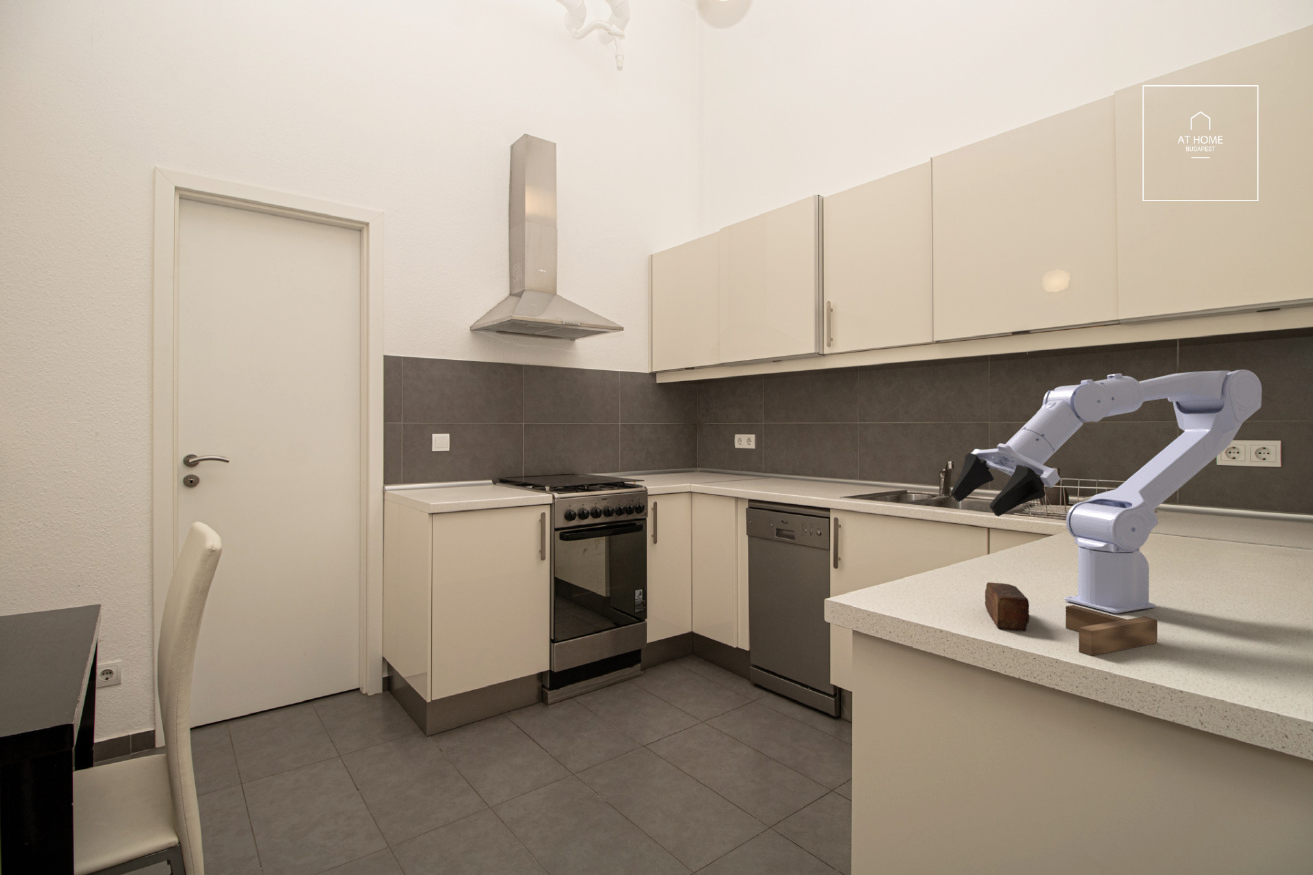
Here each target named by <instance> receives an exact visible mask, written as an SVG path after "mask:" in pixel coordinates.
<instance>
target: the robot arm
mask: <svg viewBox="0 0 1313 875" xmlns="http://www.w3.org/2000/svg"><path fill="white" fill-rule="evenodd" d="M1106 377H1107V378H1106V379H1100V380H1096V381H1095V380H1093V379H1084V380H1081V381H1080V384H1075V385H1074V384H1073V385H1061V386H1058V387H1056V388H1054V389H1053V390H1051V389H1050V390H1047V392H1046V393H1045V394H1044V397H1043V400H1042V405H1041V407H1040V409H1039V410H1038V411H1036V414H1035V413H1034V415H1033V416H1032V417H1031V419H1029V420H1028V421H1027V422H1026V423H1025V424H1024V425H1023V426H1022V427H1021V428H1020V429H1019V430H1018V431H1017V432H1016V433H1015V434H1014V435H1012V437H1011V438H1010V439H1009V440H1008V441H1007V442H1006V443H999V444H997V446H996V448H989V449H979V448H974V450H972V452H968V453H967V454H965V456H964V462H963V466H962V470H961V472H960V474H959V476H958V479H957V480H956V482H955V484H954V486H953V488H952V489H951V491H950V493H951V495H952V497H953V498H954V500H955V501H956V502H959V503H960V502H962V501H964V500H965V499H967V497H969V496H970V495H971V494H972V493H973V492H974V491H975V490H977V489H978V488H980V487H981V486H983V485H985V484H987V483H990V482H992V481H994V480H995V478H994V476H993V475H992V473H991V472H990V469H994V470H997V471H1000V472H1003V473H1004V474H1006V475H1008V476H1010V479H1009V480H1008V481H1007V483H1006V485H1005V486H1004V487H1003V489H1002V490H1001V491H1000V492H999V493H997V495H996V496H995V498H993V500H991V503H990V504H989V508H990V510H992V513H993V514H994V515H995V516H997V517H1001V516H1002V515H1004V514H1006V513H1007V512H1009V511H1011V510H1013V509H1015V508H1016V507H1018V506H1021V505H1024V504H1025V503H1029V502H1032V501H1035V500H1039V499H1043V498H1045V496H1046V494H1047V493H1046V492H1045V491H1046V490H1045V489H1044V488H1045V487H1046V488H1047V487H1048V488H1051V489H1053V487H1054V486H1055V485H1056V484H1057V483H1058V482H1059V481H1060V480H1061V477H1060V476H1059V474H1058V472H1057V470H1056V468H1052V467H1048V466H1046V465H1044V464H1045V463H1046V462H1048V460H1049V459H1050V458H1051V457H1052V456H1053V455H1054V454H1055V453H1056V452H1057V451H1058V450H1059V449H1060V448H1061V447H1062V446H1063V444H1065V443H1066V442H1067V441H1068V440H1069V439H1070V438H1071V437H1072V436H1073V435H1074V434H1075V433H1076V432H1077V431H1079V429H1080V428H1082V426H1083V425H1084V423H1089V422H1094V423H1097V422H1099V421H1101V420H1103V418H1107V417H1113V416H1118V415H1122V414H1123V415H1124V414H1128V413H1133V412H1135V411H1137V410H1139V409H1140V407H1142V405H1143V403H1144V402H1147V401H1149V402H1150V401H1155V400H1160V399H1161V400H1162V399H1167V401H1168V402H1169V403H1170V402H1171V403H1173V409H1174V413H1175V416H1176V422H1177V426H1178V428H1179V429H1180V430H1182V431H1183V433H1181V435H1179V436H1178V437H1177V438H1175V439H1173V441H1172V442H1170V443H1169V445H1167V446H1166V447H1165V448H1164V449H1162V450H1161V451H1159V453H1158V454H1156V455H1155V456H1154V457H1153V458H1151V459H1150V460H1149V461H1148V462H1146V464H1145V465H1143V466H1142V467H1141V468H1140V469H1139V470H1138V471H1136V472H1135V473H1134V474H1132V475H1131V476H1130V477H1129V478H1128V479H1126V481H1124V482H1123V483H1122V484H1120V485H1119V486H1118V487H1117V488H1116V489H1111V490H1109V491H1104V492H1101V493H1098V494H1095V495H1093V496H1092V497H1091V498H1089V499H1087V500H1085V501H1080V502H1079V501H1078V502H1076V503H1075V504H1073V505H1072V506H1071V507H1070V508H1069V510H1068V512H1067V514H1066V516H1065V517H1066V518H1065V525H1066V529H1067V531H1068V533H1069V534H1070V536H1072V537H1073V538H1074V544H1075V545H1078V546H1077V595H1071V596H1065V597H1064V600H1065V601H1067V602H1070V603H1074V604H1078V605H1082V606H1086V607H1089V608H1093V609H1098V610H1101V611H1105V612H1109V613H1112V614H1121V613H1127V612H1132V611H1139V610H1144V609H1150V608H1156V603H1153V602H1150V565H1149V562H1148V559H1147V557H1146V556H1145V554H1143V553H1142V551H1141V550H1140V548H1141V547H1142V546H1144V545H1145V543H1146V542H1147V540H1148V538H1149V536H1150V534H1151V532H1152V531H1153V529H1154V528H1155V527H1157V526H1158V525H1159V520H1158V516H1157V513H1156V511H1155V509H1156V508H1157V507H1159V506H1160V505H1161V504H1163V503H1164V502H1165V501H1166V500H1167V499H1168V498H1169V497H1171V496H1173V494H1175V492H1176V491H1179V489H1180V488H1182V487H1183V486H1184V485H1185V484H1186V483H1187V482H1189V481H1190V480H1191V479H1192V478H1193V477H1195V475H1196V474H1198V473H1199V472H1200V471H1201V470H1202V469H1204V468H1205V467H1206V466H1207V465H1208V464H1209V463H1211V462H1212V461H1213V460H1214V459H1216V458H1217V457H1218V456H1219V455H1220V454H1221V453H1223V451H1225V450H1226V449H1227V448H1228V447H1229V446H1230V445H1231V444H1232V442H1233V440H1234V438H1235V437H1236V435H1237V433H1238V432H1239V430H1240V429H1241V426H1242V424H1243V423H1244V422H1246V420H1248V419H1249V418H1250V417H1251V416H1253V414H1254V413H1256V412H1257V411H1258V410H1260V409H1261V407H1262V397H1263V396H1262V395H1263V394H1262V393H1263V390H1262V388H1263V387H1262V383H1261V380H1260V378H1259V377H1258V376H1257V375H1256V374H1255V373H1254V372H1253V371H1251V370H1249V369H1237V370H1234V371H1231V370H1211V371H1208V370H1207V371H1206V370H1205V371H1191V372H1180V373H1172V374H1167V375H1163V376H1159V377H1155V378H1149V379H1145V380H1140V381H1138V380H1137V379H1136V378H1134V377H1132V376H1129V375H1123V374H1122V373H1120V372H1119V373H1113V374H1111V373H1110V374H1108V375H1107V376H1106Z"/></svg>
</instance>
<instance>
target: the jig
mask: <svg viewBox="0 0 1313 875" xmlns="http://www.w3.org/2000/svg"><path fill="white" fill-rule="evenodd" d="M1065 629H1067V630H1068V629H1069V630H1071V631H1074V632H1078V652H1079V653H1081V654H1085V655H1088V656H1090V657H1093V656H1097V655H1102V654H1103V655H1104V654H1108V653H1112V652H1117V651H1123V650H1127V649H1132V648H1138V647H1144V646H1148V645H1152V644H1153V645H1154V644H1157V643H1158V619H1156V618H1152V617H1149V616H1145V615H1143V616H1139V617H1131V618H1124V617H1120V616H1116V615H1113V614H1108V613H1105V612H1101V611H1097V610H1094V609H1093V610H1092V609H1089V608H1086V607H1082V606H1077V605H1075V604H1073V605H1072V604H1071V605H1066V606H1065Z"/></svg>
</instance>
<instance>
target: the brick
mask: <svg viewBox="0 0 1313 875" xmlns="http://www.w3.org/2000/svg"><path fill="white" fill-rule="evenodd" d="M985 586H986V587H985V590H984V606H985V608H986V611H987V613H988V615H989V617H990V618H991V620H992V621H994V622H993V623H994V625H995V626H996V628H997V629H998V630H1005V631H1016V632H1026V631H1027V626H1028V623H1030V603H1029V602H1030V601H1029V599H1028V598H1027V597H1026V596H1025V594H1024V593H1023V592H1022V591H1021V590H1020V589H1019V588H1018V587H1017V586H1015V585H1013V584H1009V583H1002V582H991V581H990V582H989V581H988V582H987V583H986V585H985Z"/></svg>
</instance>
